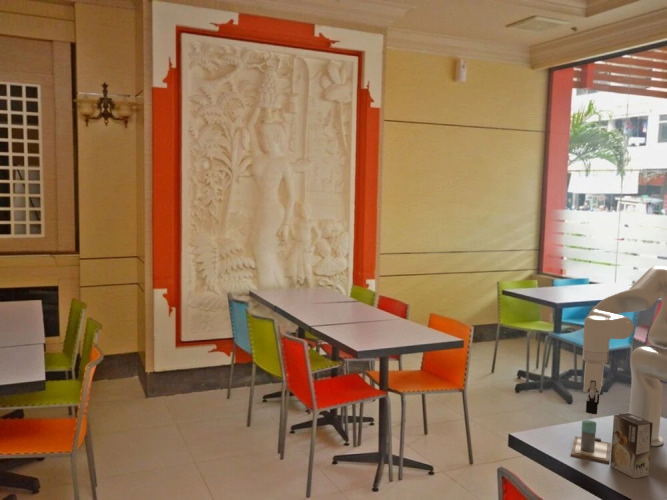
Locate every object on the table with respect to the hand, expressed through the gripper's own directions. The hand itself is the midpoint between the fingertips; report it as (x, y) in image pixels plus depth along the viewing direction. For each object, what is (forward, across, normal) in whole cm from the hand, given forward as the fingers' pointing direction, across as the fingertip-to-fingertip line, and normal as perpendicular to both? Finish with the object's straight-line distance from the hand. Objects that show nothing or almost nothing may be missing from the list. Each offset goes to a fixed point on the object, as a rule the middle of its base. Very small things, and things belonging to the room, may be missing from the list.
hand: (592, 408), depth 194 cm
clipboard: (+15, -2, 0) cm, 15 cm away
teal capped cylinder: (+13, +1, -1) cm, 13 cm away
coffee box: (+15, +8, +11) cm, 20 cm away
